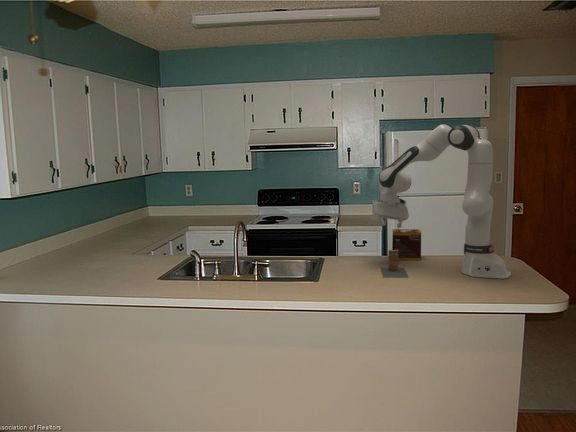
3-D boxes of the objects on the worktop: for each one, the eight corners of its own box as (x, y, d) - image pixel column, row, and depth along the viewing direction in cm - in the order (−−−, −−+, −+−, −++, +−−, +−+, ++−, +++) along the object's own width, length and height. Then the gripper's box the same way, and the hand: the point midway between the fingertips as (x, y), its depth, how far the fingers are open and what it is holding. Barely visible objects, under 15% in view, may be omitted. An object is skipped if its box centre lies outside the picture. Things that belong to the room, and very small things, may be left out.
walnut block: (388, 269, 260) (388, 249, 259) (397, 269, 260) (397, 249, 258) (389, 271, 257) (389, 251, 255) (398, 271, 256) (398, 251, 255)
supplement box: (421, 260, 279) (421, 232, 277) (392, 260, 282) (392, 232, 280) (420, 256, 289) (420, 229, 287) (392, 256, 292) (392, 228, 290)
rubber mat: (380, 268, 265) (380, 267, 265) (404, 268, 263) (404, 267, 263) (382, 278, 245) (382, 277, 245) (408, 278, 244) (408, 277, 244)
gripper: (375, 196, 266) (377, 221, 261) (408, 201, 273) (411, 226, 268) (368, 201, 271) (371, 226, 266) (402, 206, 279) (404, 230, 274)
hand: (391, 226), depth 267 cm, fingers open, 8 cm apart
